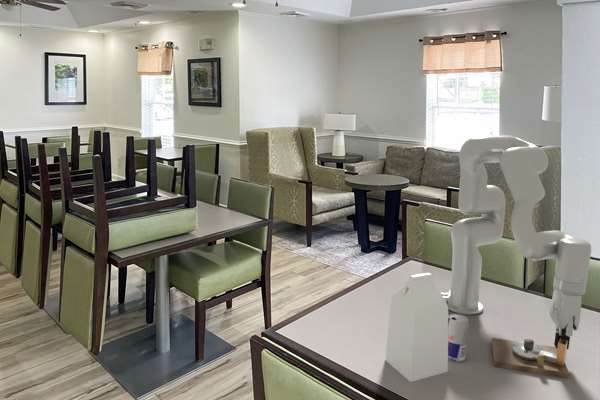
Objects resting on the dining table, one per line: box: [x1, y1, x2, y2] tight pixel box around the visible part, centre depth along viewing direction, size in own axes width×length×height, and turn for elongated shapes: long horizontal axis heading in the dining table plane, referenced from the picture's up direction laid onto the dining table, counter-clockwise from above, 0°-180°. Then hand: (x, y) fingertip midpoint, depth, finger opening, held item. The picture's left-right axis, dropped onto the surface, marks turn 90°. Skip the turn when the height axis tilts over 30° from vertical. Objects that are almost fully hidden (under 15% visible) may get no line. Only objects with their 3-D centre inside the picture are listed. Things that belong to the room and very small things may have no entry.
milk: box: [385, 272, 449, 383], centre depth 129 cm, size 12×12×26 cm
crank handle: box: [512, 338, 568, 366], centre depth 132 cm, size 13×8×6 cm, turn 53°
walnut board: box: [490, 337, 570, 379], centre depth 134 cm, size 18×14×6 cm
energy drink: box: [448, 313, 469, 363], centre depth 134 cm, size 5×5×12 cm
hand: (561, 347), depth 133 cm, fingers closed
